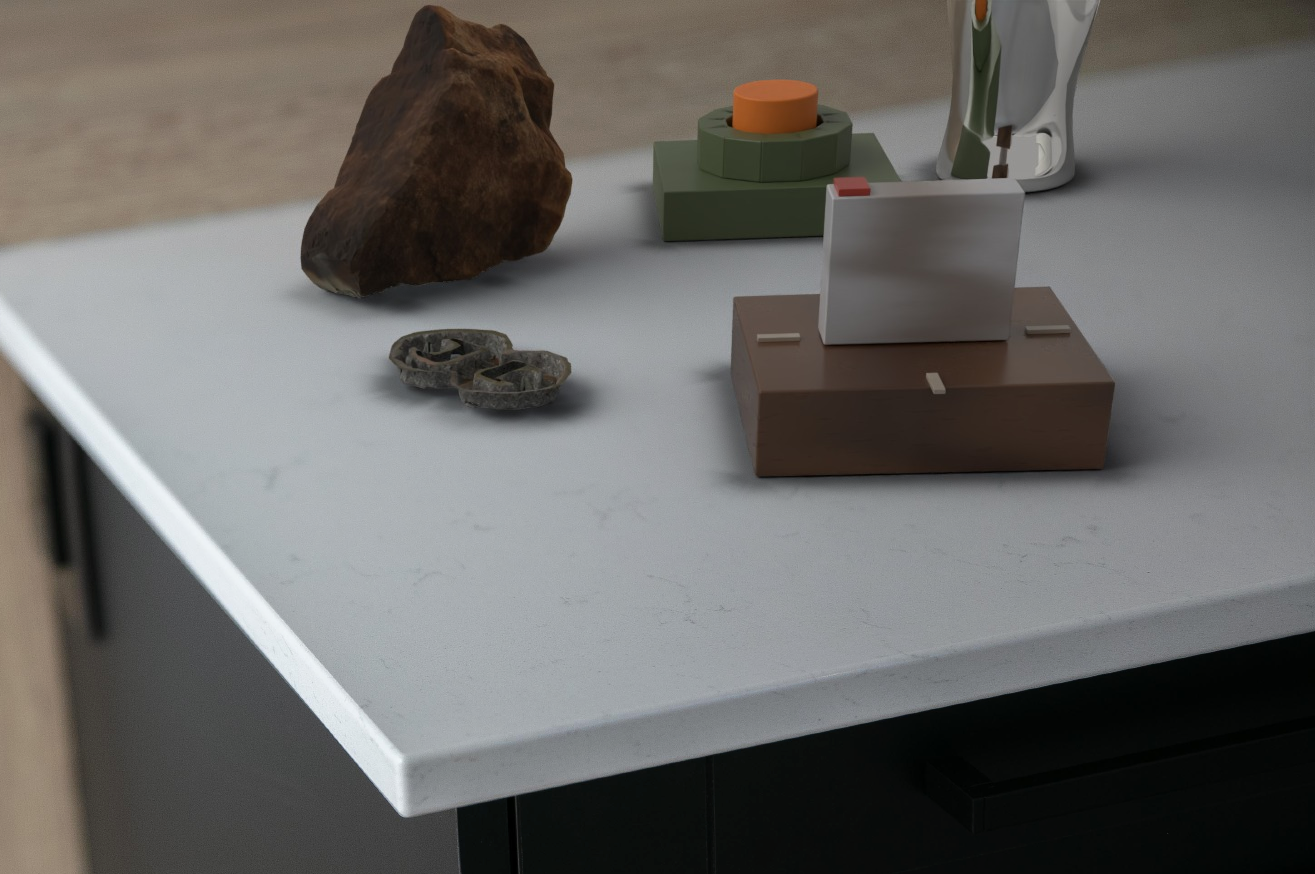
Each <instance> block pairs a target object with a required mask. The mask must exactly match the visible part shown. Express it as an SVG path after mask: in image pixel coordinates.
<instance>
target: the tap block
mask: <svg viewBox="0 0 1315 874" xmlns="http://www.w3.org/2000/svg"><path fill="white" fill-rule="evenodd" d="M819 306H820V293H804V294H803V293H801V294H771V295H769V294H767V295H743V296H742V295H740V296H733V298H732V323H731V324H732V325H731V326H732V327H731V328H732V329H731V345H730V347H731V349H730V377H731V382H732V385H733V389H734V393H735V397H736V402H737V406H738V411H739V414H740V420H741V423H742V427H743V431H744V435H745V439H746V445H747V447H748V452H749V457H750V460H751V465H752V468H753V473H754V476H755V477H760V478H761V477H799V476H801V477H802V476H841V475H842V476H843V475H847V476H848V475H888V474H889V475H891V474H933V473H935V474H937V473H974V472H975V473H976V472H978V473H979V472H1015V471H1017V472H1019V471H1022V472H1023V471H1054V470H1055V471H1061V470H1062V471H1063V470H1064V471H1065V470H1066V471H1067V470H1068V471H1069V470H1102V469H1104V468H1105V461H1106V455H1107V448H1108V440H1109V433H1110V427H1111V426H1110V425H1111V420H1112V411H1113V404H1114V399H1115V398H1114V397H1115V390H1116V382H1115V379H1114V378H1113V377H1112V375H1111V373H1110V372H1109V371H1108V369H1107V368H1106V367H1105V365H1104V364H1103V362H1102V361H1101V359H1100V358H1099V356H1098V355H1097V353H1096V352H1095V349H1093V347H1092V346H1091V345H1090V343H1089V341H1087V339H1086V337H1085V336H1084V334H1083V333H1082V332H1081V330H1080V328H1079V327H1078V325H1077V324H1076V322H1075V321H1074V320H1073V318H1072V316H1071V315H1070V314H1069V313H1068V311H1067V310H1066V308H1065V306H1064V305H1063V304H1062V302H1061V301H1060V299H1059V298H1058V296H1057V295H1056V293H1055V291H1054V290H1053V289H1052V287H1051V286H1023V287H1022V286H1021V287H1017V286H1016V287H1015V289H1014V298H1013V307H1012V316H1011V325H1010V334H1009V339H1008V340H993V341H954V342H915V343H876V344H838V345H824V343H823V340H822V337H821V334H820V331H819V328H818V322H819Z"/></svg>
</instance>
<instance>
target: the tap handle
mask: <svg viewBox="0 0 1315 874" xmlns="http://www.w3.org/2000/svg"><path fill="white" fill-rule="evenodd" d="M1025 197H1026V192H1024V190H1023V189H1022V187H1021V186H1020V185H1019V183H1018V182H1017V180H1016V179H1015V178H997V179H968V180H942V179H940V180H916V181H915V180H914V181H901V182H882V183H868V182H867V180H866V178H865V177H847V178H834V184H828V185H827V189H826V206H825V222H824V236H823V241H822V242H823V243H822V258H821V272H820V273H821V275H820V291H819V294H820V306H819V322H818V328H819V331H820V334H821V337H822V340H823V343H824V345H838V344H876V343H915V342H954V341H993V340H1008V339H1009V334H1010V325H1011V316H1012V307H1013V298H1014V289H1015V288H1016V287H1015V286H1016V279H1017V272H1018V271H1017V269H1018V261H1019V253H1020V252H1019V251H1020V243H1021V235H1022V234H1021V233H1022V225H1023V215H1024V206H1025V199H1026V198H1025Z"/></svg>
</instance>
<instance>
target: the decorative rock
mask: <svg viewBox="0 0 1315 874" xmlns="http://www.w3.org/2000/svg"><path fill="white" fill-rule="evenodd" d="M410 22H411V23H410V25H409V29H408V31H407V33H406V35H405V38H404V42H403V45H402V48H401V50H400V52H399V54H398V56H396V58H395V60H394V62H393V65H392V68H391V71H390V74H388V75H385V76H383V77H381V78H380V79H379V80H378V81H377V82H376V84H375V85H374V86H373V87H372V88H371V90H370V91H369V93H368V94H367V98H366V99H365V102H364V104H363V107H362V109H361V113H360V116H359V117H358V118H359V119H358V121H357V123H356V125H355V129H354V133H353V135H352V137H351V142H350V144H349V147H348V148H347V152H346V154H345V156H344V158H343V161H342V163H341V165H340V168H339V170H338V173H337V176H336V180H335V182H334V185H333V188H331V189H330V190H328V191H327V193H326V194H325V195H324V196H323V197H322V198H321V200H320V201H319V202H318V203H317V204H316V206H315V207H314V209H313V211H312V212H311V214H310V215H309V218H308V219H307V222H306V224H305V226H304V229H303V233H302V239H301V245H300V258H299V259H300V268H301V270H302V271H303V273H304V275H305V276H306V277H307V278H308V279H309V280H310V281H311V283H312V284H314V285H315V286H316V287H318V288H319V289H321V290H324V291H326V292H333V293H335V294H340V295H342V294H344V295H348V296H350V297H351V298H354V297H356V298H357V299H362V298H363V297H368V296H373V295H375V294H376V293H379V294H381V295H382V294H384V293H385V292H386V290H388V289H391V288H397V287H401V286H412V287H413V286H414V287H415V286H423V285H429V284H432V283H435V284H436V283H440V284H441V283H453V282H459V281H469V280H472V279H475V278H477V277H479V276H480V275H481V274H482V273H483V272H487V271H488V270H489V269H490V268H493V267H495V266H497V265H501V264H503V263H504V262H518V261H520V260H522V259H524V258H528V257H531V256H535V255H538V254H542V253H544V252H545V251H546V250H547V249H548V248H549V247H550V246H551V244H552V242H553V240H554V237H555V235H556V234H557V232H558V230H559V229H560V227H561V224H562V222H563V220H564V217H565V213H566V208H567V205H568V202H569V199H570V197H571V195H572V189H573V188H572V187H573V175H572V172H571V171H570V170H569V169H567V166H566V159H565V158H566V157H565V154H564V151H563V150H562V148H561V146H560V145H559V144H558V142H557V140H556V138H555V137H554V135H553V134H552V131H551V129H550V128H551V121H552V117H553V104H554V103H553V101H554V92H555V83H554V81H553V79H552V77H550V76H549V75H548V73H547V71H546V70H545V68H544V67H543V66H542V64H541V63H540V60H539V59H538V57H537V56H536V54H535V52H534V50H533V49H532V48H531V46H530V44H529V43H528V42H527V40H526V38H524V37H523V36H522V35H521V34H519V33H518V32H517V31H516V30H514V29H513V28H512V27H510V26H509V25H507V24H504V23H497V24H494V25H493V26H491V27H487V26H485V25H483V24H481V23H477V22H474V21H470V20H465V19H461V18H459V17H458V16H456V15H455V14H454V13H453V12H451V11H450V10H448V9H447V8H445V7H443V6H440V5H434V4H426V5H424V6H422V7H421V8H420V9H419V10H417V11H416V12H415V14H414V16H413V18H412V20H411V21H410Z"/></svg>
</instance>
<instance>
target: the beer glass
mask: <svg viewBox="0 0 1315 874" xmlns="http://www.w3.org/2000/svg"><path fill="white" fill-rule="evenodd" d="M1100 4H1101V0H946V10H947V11H946V12H947V21H948V31H949V32H948V33H949V43H950V44H949V45H950V59H951V76H952V78H951V79H952V80H951V99H950V106H949V113H948V117H947V118H948V119H947V123H946V127H945V131H944V134H943V138H942V141H941V145H940V149H939V151H938V152H939V153H938V156H937V161H936V165H935V173H936V175H937V177H938V178H939V179H940V180H968V179H997V178H1015V179H1016V180H1017V182H1018V183H1019V185H1020V186H1021V187H1022V189H1023V190H1024V192H1025V193H1034V192H1043V191H1047V190H1052V189H1055V188H1059V187H1061V186H1063V185H1066V184H1067V183H1069V182H1070V181H1071V180H1073V178H1074V176H1075V173H1076V157H1075V142H1074V106H1075V105H1074V103H1075V96H1076V89H1077V88H1078V79H1079V76H1080V75H1079V74H1080V71H1081V67H1082V64H1083V60H1084V57H1085V53H1086V50H1087V46H1088V43H1089V40H1090V36H1091V33H1092V30H1093V27H1094V24H1095V20H1096V17H1097V14H1098V10H1099V6H1100Z"/></svg>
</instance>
